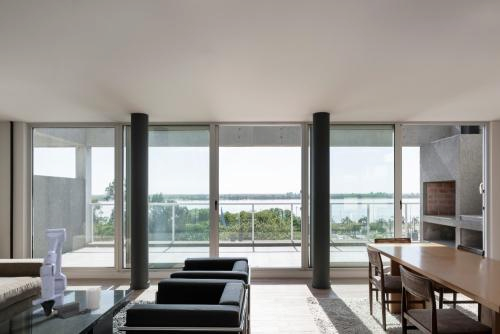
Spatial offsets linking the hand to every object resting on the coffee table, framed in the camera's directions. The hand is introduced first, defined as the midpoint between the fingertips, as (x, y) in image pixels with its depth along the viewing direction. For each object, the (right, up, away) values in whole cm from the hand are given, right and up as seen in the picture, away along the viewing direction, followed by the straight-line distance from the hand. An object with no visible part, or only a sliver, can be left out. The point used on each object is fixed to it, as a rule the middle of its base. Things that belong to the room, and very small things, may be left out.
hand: (47, 316), depth 189 cm
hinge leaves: (+5, -2, +8) cm, 10 cm away
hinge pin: (+4, -2, +7) cm, 8 cm away
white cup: (+16, -3, +17) cm, 24 cm away
